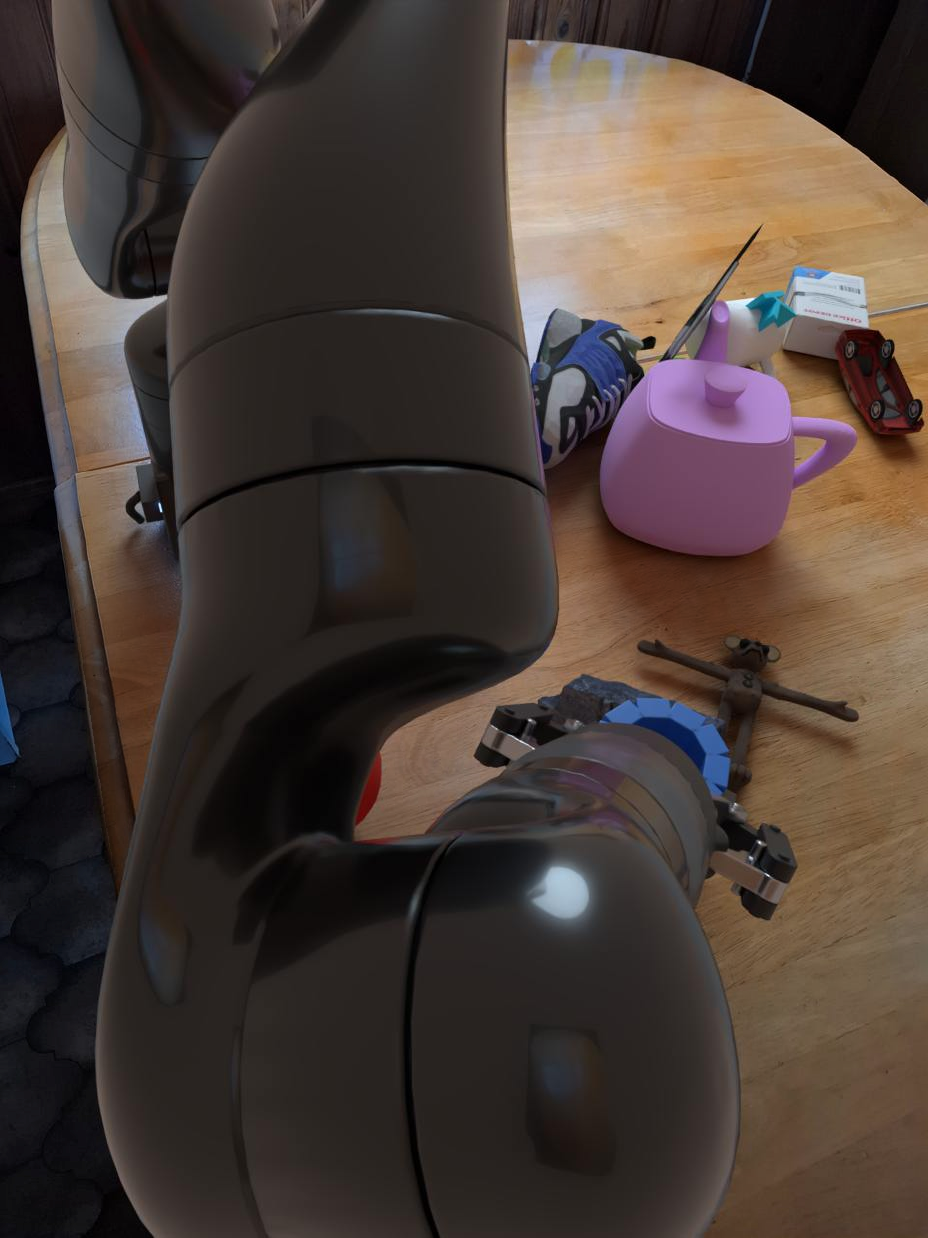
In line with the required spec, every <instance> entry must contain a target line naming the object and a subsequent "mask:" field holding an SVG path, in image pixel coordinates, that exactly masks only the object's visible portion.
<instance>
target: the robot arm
mask: <svg viewBox="0 0 928 1238" xmlns="http://www.w3.org/2000/svg"><path fill="white" fill-rule="evenodd" d="M509 19H510V0H316V1H315V2H314V4H313V5H312V6H311V7H310V9H309V10H308V12H307V14H306V15H305V17H303V19H302V21H301V22H300V23H299V25H298V26H297V27H296V29H295V30H294V31H293V32H292V34H291V35H290V36H289V38H288V39H287V40H286V42H285V43H284V44H283V46H282V44H281V34H280V28H279V22H278V20H277V15H276V11H275V8H274V4H273V2H272V0H51V20H52V21H51V22H52V37H53V45H54V47H53V48H54V56H55V65H56V73H57V74H56V75H57V81H58V86H59V93H60V99H61V103H62V110H63V115H64V122H65V127H66V134H67V136H66V143H65V144H66V145H65V150H64V151H65V152H64V160H63V169H62V170H63V171H62V199H63V211H64V215H65V222H66V226H67V227H66V228H67V230H68V235H69V238H70V241H71V244H72V247H73V249H74V252H75V254H76V257H77V259H78V261H79V263H80V265H81V267H82V269H83V270H84V272H85V273H86V275H87V276H88V277H89V279H90V280H91V281H92V282H93V284H94V285H95V287H97V288H98V289H100V290H101V291H102V292H103V293H104V294H105V295H108V296H109V297H112V298H114V299H115V298H116V299H117V300H145V299H151V298H154V297H155V298H156V297H162V296H166V299H164V300H163V301H161V302H160V303H158V304H156V305H155V306H153V307H152V308H150V309H148V310H146V311H145V312H144V313H143V314H140V316H139V317H138V318H136V319H135V320H134V321H133V323H131V325H130V326H129V328H128V330H127V332H126V334H125V336H124V342H123V351H124V359H125V363H126V367H127V370H128V375H129V378H130V382H131V385H132V389H133V393H134V398H135V401H136V406H137V409H138V414H139V418H140V422H141V425H142V430H143V434H144V438H145V442H146V445H147V449H148V454H149V459H150V463H146V464H140V465H136V466H135V471H136V478H137V484H138V485H137V486H138V490H137V491H136V492H135V494H133V495H132V496H131V497H130V498H128V499H127V501H126V503H125V512H126V514H127V515H128V516H129V517H130V518H131V519H132V520H134V522H136V524H138V525H143V524H145V522H146V524H150V523H156V522H162V521H164V525H165V529H166V534H167V537H168V542H169V545H170V548H171V552H172V557H173V559H174V560H175V561H178V562H179V575H180V588H181V589H180V591H181V597H180V610H179V617H178V623H177V629H176V635H175V638H174V644H173V648H172V651H171V652H172V653H171V657H170V661H169V665H168V669H167V673H166V677H165V680H164V685H163V689H162V693H161V697H160V701H159V705H158V710H157V714H156V718H155V721H154V727H153V731H152V732H153V733H152V739H151V742H150V743H151V745H150V749H149V754H148V759H147V765H146V768H145V769H146V770H145V773H144V778H143V779H144V780H143V785H142V789H141V793H140V799H139V803H138V807H137V812H136V816H135V821H134V824H133V831H132V833H131V838H130V842H129V847H128V852H127V856H126V860H125V866H124V870H123V874H122V878H121V884H120V888H119V891H118V896H117V900H116V905H115V910H114V913H113V914H114V915H113V919H112V923H111V928H110V933H109V936H108V937H109V938H108V942H107V945H106V952H105V958H104V964H103V970H102V976H101V983H100V988H99V995H98V1001H97V1007H96V1009H97V1010H96V1024H95V1025H96V1027H95V1042H94V1044H95V1045H94V1067H95V1068H94V1071H95V1086H96V1087H95V1088H96V1095H97V1102H98V1107H99V1113H100V1119H101V1123H102V1126H103V1131H104V1135H105V1139H106V1143H107V1147H108V1152H109V1154H110V1156H111V1160H112V1162H113V1165H114V1167H115V1171H116V1173H117V1175H118V1178H119V1181H120V1183H121V1186H122V1188H123V1190H124V1193H125V1194H126V1196H127V1198H128V1200H129V1201H130V1204H131V1205H132V1208H133V1209H134V1211H135V1212H136V1215H137V1217H138V1218H139V1220H140V1222H141V1223H142V1224H143V1225H144V1227H145V1228H146V1229H147V1230H148V1232H149V1234H150V1235H151V1236H152V1237H153V1238H704V1236H705V1234H706V1233H707V1231H708V1229H709V1228H710V1226H711V1225H712V1223H713V1221H714V1219H715V1218H716V1216H717V1214H718V1213H719V1211H720V1209H721V1207H722V1206H723V1203H724V1201H725V1198H726V1196H727V1193H728V1190H729V1188H730V1185H731V1181H732V1179H733V1173H734V1168H735V1163H736V1158H737V1153H738V1152H737V1151H738V1147H739V1143H740V1142H739V1140H740V1136H741V1120H742V1108H741V1107H742V1099H741V1098H742V1095H741V1094H742V1093H741V1092H742V1090H741V1089H742V1088H741V1087H742V1086H741V1073H740V1062H739V1055H738V1048H737V1042H736V1041H737V1040H736V1035H735V1029H734V1024H733V1020H732V1014H731V1009H730V1006H729V1002H728V1001H729V1000H728V997H727V993H726V989H725V985H724V982H723V979H722V976H721V971H720V969H719V966H718V963H717V959H716V956H715V953H714V951H713V949H712V945H711V942H710V941H709V938H708V936H707V934H706V931H705V928H704V927H703V925H702V922H701V920H700V917H699V915H698V913H697V911H696V909H697V906H698V904H699V901H700V898H701V894H702V891H703V888H704V884H705V881H706V880H708V879H710V878H712V877H714V876H715V875H716V874H718V875H720V876H722V877H723V878H725V879H728V880H729V881H731V882H733V884H732V886H731V888H730V892H731V893H732V894H733V895H736V896H737V897H740V904H741V906H742V907H743V908H744V909H745V910H746V911H747V912H748V913H749V914H750V915H751V916H753V917H754V918H756V919H762V920H764V921H770V920H771V919H772V917H773V915H774V913H775V912H776V910H777V907H778V905H780V902H781V900H782V898H783V896H784V895H785V893H786V890H787V889H788V887H789V885H790V883H791V881H792V879H793V877H794V875H795V873H796V871H797V870H798V868H799V865H798V862H797V858H796V857H795V854H794V851H793V849H792V845H791V842H790V840H789V837H788V835H787V834H786V833H785V832H783V831H782V829H781V828H780V827H779V826H777V825H775V824H773V823H770V824H768V823H766V822H761V824H760V825H759V828H756V827H754V826H753V825H751V824H750V823H749V822H748V821H747V820H748V818H749V816H750V812H749V811H747V810H746V808H745V807H744V806H743V805H741V804H740V803H738V802H736V801H737V797H738V793H736V792H734V791H730V790H728V789H726V790H725V792H724V794H723V796H721V795H720V794H718V793H717V792H715V791H713V790H712V789H710V788H709V787H708V785H707V783H706V781H705V779H704V777H703V776H702V774H701V772H700V771H699V769H698V768H697V766H696V765H695V764H694V762H693V761H692V760H691V759H690V758H689V756H688V755H687V754H686V753H685V752H684V751H683V750H682V749H680V748H679V747H678V746H677V745H676V744H674V743H673V742H672V741H670V740H669V739H667V738H666V737H664V736H662V735H660V734H658V733H656V732H654V731H652V730H650V729H647V728H644V727H641V726H637V725H633V724H628V723H616V722H609V723H599V722H597V721H594V722H592V723H589V724H587V725H585V724H584V723H583V722H581V721H579V720H576V719H575V720H572V719H567V720H566V722H565V724H564V726H562V725H559V724H557V723H555V722H552V721H551V719H552V717H553V715H554V713H553V712H552V711H551V710H549V709H548V708H549V707H547V706H546V705H544V704H541V703H539V704H537V703H536V702H525V703H515V704H506V705H505V704H504V705H497V706H496V707H495V709H494V711H493V713H492V715H491V717H490V719H489V721H488V723H487V724H486V727H485V729H484V731H483V734H482V736H481V738H480V741H479V743H478V745H477V747H476V749H475V751H474V754H473V758H474V759H475V760H477V761H478V762H479V764H481V765H482V766H484V767H487V768H494V769H499V768H503V767H505V769H503V770H502V772H501V773H500V774H499V775H497V776H495V777H492V778H490V779H488V780H486V781H485V782H483V783H481V784H480V785H478V786H476V787H473V788H472V789H470V790H469V791H468V792H466V793H465V794H464V795H463V796H461V797H460V798H458V799H457V800H456V801H454V802H453V803H452V804H450V805H449V806H448V807H446V809H444V810H443V812H441V813H440V814H439V816H438V817H437V818H436V819H435V820H434V821H433V822H432V823H431V824H430V826H428V828H427V829H426V830H425V831H424V833H417V834H408V835H399V836H389V837H381V838H371V839H362V840H361V839H360V840H355V838H356V837H355V830H356V827H355V822H356V818H357V813H358V809H359V805H360V802H361V798H362V795H363V792H364V789H365V786H366V783H367V780H368V778H369V775H370V772H371V770H372V767H373V765H374V763H375V760H376V758H377V756H378V753H379V751H380V752H381V750H382V749H383V747H384V745H385V744H386V742H387V740H388V739H389V738H390V737H392V735H393V734H394V733H395V732H397V731H398V730H400V729H401V728H403V727H404V726H406V725H407V724H409V723H411V722H412V721H414V720H415V719H418V718H420V717H422V716H423V715H426V714H428V713H430V712H432V711H435V710H437V709H439V708H441V707H444V706H447V705H448V704H451V703H454V702H457V701H459V700H462V699H464V698H467V697H470V696H472V695H475V694H478V693H481V692H482V691H486V690H487V689H490V688H493V687H495V686H497V685H499V684H502V683H503V682H506V681H507V680H509V679H511V678H513V677H516V676H517V675H519V674H521V673H522V672H524V671H526V670H527V669H529V668H530V667H532V666H533V665H534V664H535V663H536V662H537V661H538V660H539V659H540V658H542V657H543V656H544V654H545V653H546V652H547V650H548V648H549V647H550V645H551V644H552V641H553V639H554V637H555V635H556V631H557V627H558V622H559V614H560V578H559V570H558V560H557V551H556V543H555V537H554V530H553V522H552V516H551V515H552V514H551V509H550V506H549V498H548V491H547V482H546V477H545V469H544V468H543V461H542V454H541V447H540V439H539V432H538V425H537V418H536V411H535V403H534V396H533V389H532V382H531V375H530V373H531V366H530V360H529V354H528V353H529V352H528V346H527V341H526V340H527V339H526V333H525V327H524V321H523V314H522V307H521V299H520V294H519V293H520V292H519V286H518V277H517V276H518V275H517V266H516V257H515V256H516V255H515V249H514V247H515V246H514V239H513V228H512V218H511V217H512V216H511V198H510V181H509V165H508V164H509V163H508V64H509V63H508V61H509V27H510V26H509V25H510V24H509V23H510V21H509ZM139 503H140V504H141V507H142V511H143V515H144V516H143V515H142V514H141V513H140V512H138V510H136V506H137V505H138V504H139Z"/></svg>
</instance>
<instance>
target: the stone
mask: <svg viewBox="0 0 928 1238" xmlns="http://www.w3.org/2000/svg"><path fill="white" fill-rule="evenodd" d="M636 698H653V699H664V697H662V696H660V695H659V694H655V693H651V692H648V691H645V690H641V689H638V688H636V687H633V686H631V685H629V684H627V683H625V682H622V681H618V680H617V681H615V680H614V681H613V680H604V679H602V678H599V677H595V676H593V675H590V674H586V673H583V672H582V673H581V674H580V676H579V677H577V678H574V679H573V680H571V681H570V682H569V683H566V684H565V685H563V687H562V689H561V692H560V693H558V694H556V695H550V696H546V695H545V696H541V697H540V698H539V699H538V700H537V703H536V704H539V703H541V704H544V705H546V706H547V707H549V708H548V709H549V710H551V711H552V712H553V713H554V715H553V717H552V719H551V721H552V722H555V723H557V724H559V725H562V726H564V724H565V722H566V720H567V719H572V720H575V719H576V720H579V721H581V722H583V723H584V724H585V725H587V724H589V723H592V722H594V721H597V722H599V721H600V720H602V721H603V717H604V715H605V714H607V713H608V712H610V711H612V710H613V709H615V708H616V707H618V706H620V705H621V704H623V703H624V702H626V701H628V700H630V701H631V702H632V703H633V704H634V702H635V700H636ZM669 701H670V707H671V708H672V707H673V705H674V704H675V703H676V702H677V701H676V700H672V699H669ZM690 709H691V710H693V711H695V712H697V713H698V714H700V715H702V716H704V717H705V718H706V722H705V724H704V726H706V725H710V724H713V725H714V727H715V728H716V730H717V732H718V733H719V735H720V737H721V738H722V740H723V742H724V741H725V742H726V738H727V734H726V723H725V721H723V720H721V719H718V718H717V716H714V715H708V714H706V713H702V712H700V711H697V710H695V709H693V708H690ZM725 737H726V738H725Z"/></svg>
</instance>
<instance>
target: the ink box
mask: <svg viewBox="0 0 928 1238" xmlns="http://www.w3.org/2000/svg"><path fill="white" fill-rule="evenodd" d="M866 291H867V290H866V279H865V278H864V277H862V276H858V275H857V276H856V275H851V274H846V273H845V274H844V273H840V272H833V271H829V270H824V269H817V268H811V267H805V266H800V265H796V266H794V268H793V270H792V273H791V276H790V278H789V281H788V285H787V287H786V290H785V292H784V294H785V296H783V301H782V302H783V303H785V304H786V305H787V306H789V307H790V308H791V309H793V310H794V312H795V314H796V316H795V317H794V318H792V319H791V320H789V321H788V322H786V333H785V337H784V341H783V344H782V349H783V350H786V351H791V352H796V353H802V354H807V355H811V356H817V357H821V358H827V359H830V360H831V359H832V360H835V361H839V360H838V356H837V354H836V352H835V350H834V349H835V346H836V343H837V341H838V339H839V336H840V335H841V333H842V332H843V331H844V330H851V329H870V330H871V328H870V322H869V321H870V320H869V312H868V301H867V292H866Z"/></svg>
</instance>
